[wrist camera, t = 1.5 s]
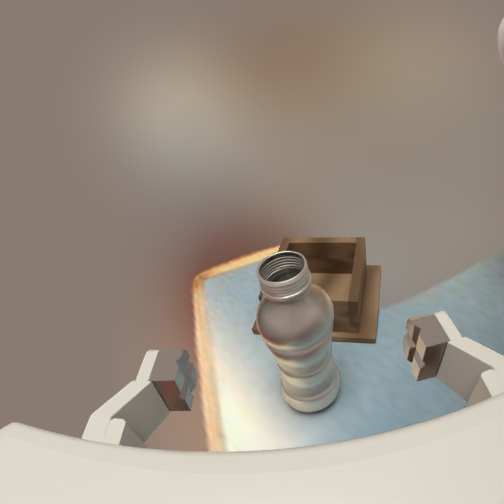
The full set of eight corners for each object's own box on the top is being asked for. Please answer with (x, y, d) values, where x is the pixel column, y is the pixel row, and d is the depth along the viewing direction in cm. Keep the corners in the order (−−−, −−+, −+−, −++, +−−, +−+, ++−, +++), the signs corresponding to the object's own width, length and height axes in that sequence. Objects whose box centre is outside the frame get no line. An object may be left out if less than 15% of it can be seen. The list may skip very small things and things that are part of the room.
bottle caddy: (380, 270, 47) (380, 234, 43) (375, 343, 37) (376, 307, 33) (280, 268, 54) (271, 235, 50) (253, 333, 44) (239, 300, 40)
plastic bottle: (276, 387, 36) (224, 263, 25) (324, 361, 37) (299, 228, 26) (300, 428, 31) (255, 315, 20) (351, 398, 32) (345, 268, 21)
